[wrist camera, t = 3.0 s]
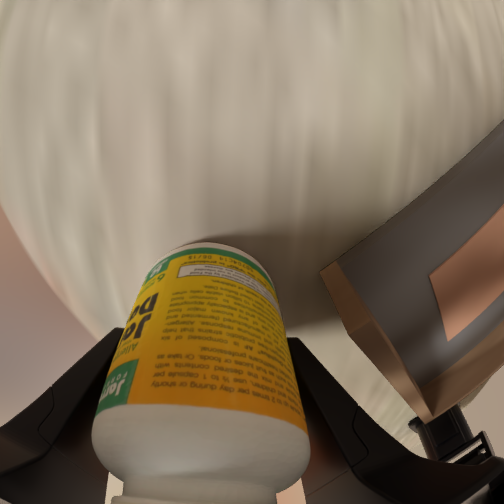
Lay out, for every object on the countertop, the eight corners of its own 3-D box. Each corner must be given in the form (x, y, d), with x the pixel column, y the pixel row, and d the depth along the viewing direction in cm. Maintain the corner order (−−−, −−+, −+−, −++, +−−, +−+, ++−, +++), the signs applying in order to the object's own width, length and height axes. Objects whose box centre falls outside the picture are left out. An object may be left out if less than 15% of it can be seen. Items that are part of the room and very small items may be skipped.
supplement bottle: (248, 351, 13) (265, 551, 4) (138, 323, 11) (90, 532, 3) (298, 261, 10) (389, 539, 2) (158, 217, 9) (37, 536, 1)
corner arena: (528, 288, 14) (550, 312, 10) (410, 391, 17) (425, 424, 14) (515, 108, 7) (564, 123, 4) (319, 272, 11) (348, 334, 8)
